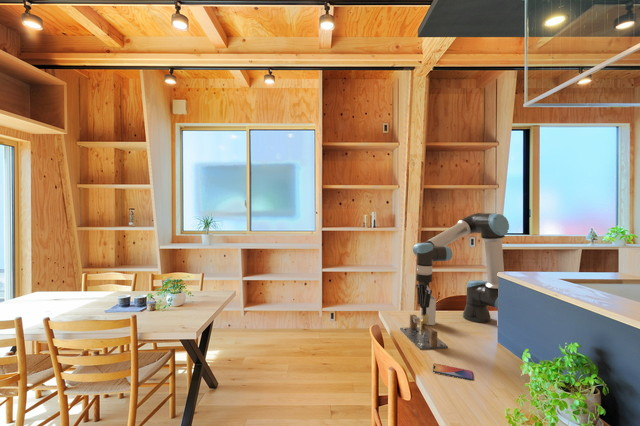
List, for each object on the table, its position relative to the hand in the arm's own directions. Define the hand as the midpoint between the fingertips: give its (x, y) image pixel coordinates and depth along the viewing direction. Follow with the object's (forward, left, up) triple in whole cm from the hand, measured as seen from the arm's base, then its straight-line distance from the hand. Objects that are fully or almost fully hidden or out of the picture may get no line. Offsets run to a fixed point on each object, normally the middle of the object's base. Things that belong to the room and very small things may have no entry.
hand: (422, 319), depth 168 cm
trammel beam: (0, 0, -10) cm, 10 cm away
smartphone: (+3, +34, -10) cm, 36 cm away
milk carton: (-13, -21, -10) cm, 27 cm away
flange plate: (0, 0, -10) cm, 10 cm away
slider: (0, +2, -8) cm, 8 cm away
